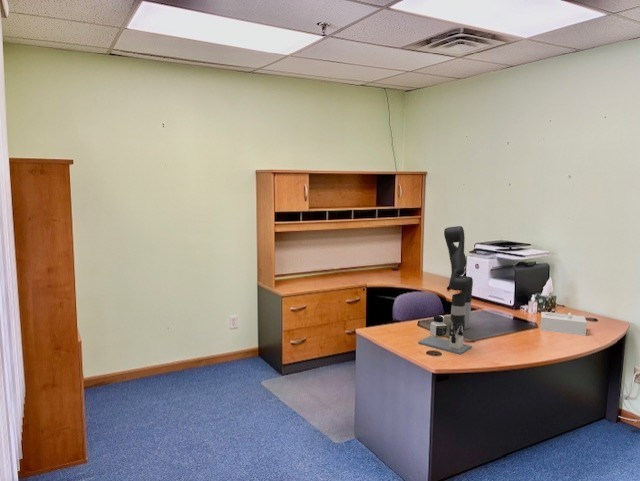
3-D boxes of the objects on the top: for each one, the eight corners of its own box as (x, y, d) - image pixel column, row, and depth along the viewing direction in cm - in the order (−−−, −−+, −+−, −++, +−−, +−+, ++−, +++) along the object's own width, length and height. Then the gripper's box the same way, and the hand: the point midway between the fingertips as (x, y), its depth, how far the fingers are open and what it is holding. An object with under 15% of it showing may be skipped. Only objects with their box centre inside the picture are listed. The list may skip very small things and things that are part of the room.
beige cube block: (453, 344, 270) (454, 333, 270) (463, 346, 267) (463, 336, 266) (449, 346, 266) (449, 336, 265) (458, 349, 263) (459, 338, 262)
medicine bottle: (435, 337, 286) (436, 317, 284) (430, 333, 293) (430, 314, 291) (446, 336, 288) (447, 317, 286) (440, 332, 295) (441, 313, 293)
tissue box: (585, 336, 291) (587, 318, 289) (540, 330, 301) (541, 313, 299) (583, 329, 304) (584, 312, 302) (540, 324, 314) (541, 308, 312)
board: (430, 337, 285) (430, 327, 284) (471, 348, 268) (472, 337, 267) (418, 343, 275) (418, 333, 274) (460, 354, 257) (461, 343, 257)
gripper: (457, 309, 272) (456, 336, 274) (445, 314, 261) (444, 342, 263) (469, 311, 267) (468, 339, 269) (458, 317, 256) (457, 345, 258)
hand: (456, 341), depth 266 cm, fingers open, 8 cm apart
